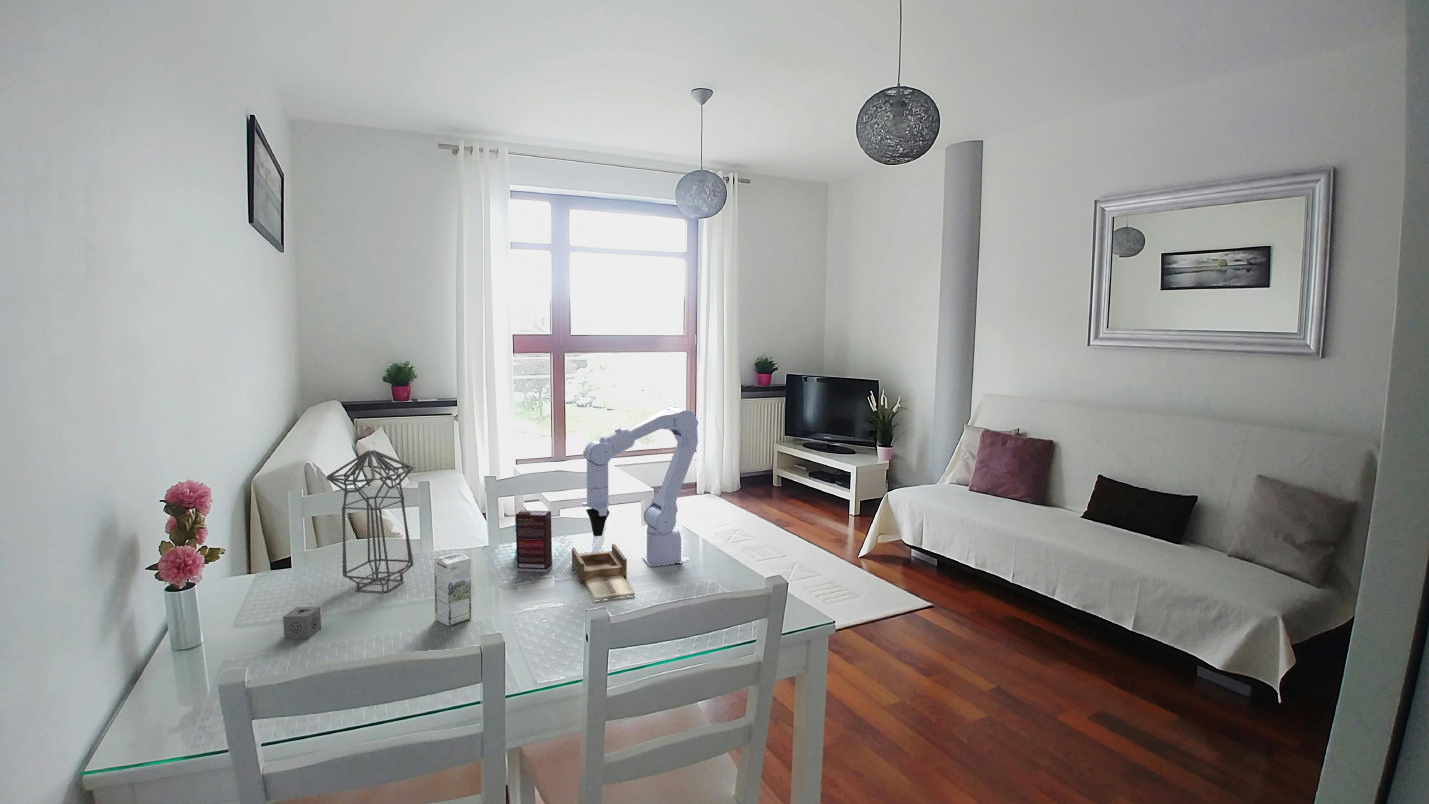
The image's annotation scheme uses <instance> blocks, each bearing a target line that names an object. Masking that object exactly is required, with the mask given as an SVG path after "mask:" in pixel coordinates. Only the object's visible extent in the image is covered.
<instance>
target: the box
mask: <svg viewBox="0 0 1429 804" xmlns="http://www.w3.org/2000/svg"><path fill="white" fill-rule="evenodd" d="M627 563H628V559H627V557H625V555H624V554H623V553H622V552H621V550H620V549H619V548H618V546H617V545H616V544H615V543H612V544H611V550H610V551H609V550H608V551H600V552H598V551H597V552H589V553H578V551H577V549H576V547H571V567H572V569H573V571H574V573H575V575H576V576H577V578H578V580H579V582H580V584H581V585H583V584H585V579H594V578H602V577H611V576H620V575H622V576H623V577H624V578H625V579H627V578H628V577H627V576H628V575H627V574H628V572H627V571H628V564H627Z"/></svg>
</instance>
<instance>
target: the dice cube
mask: <svg viewBox="0 0 1429 804" xmlns="http://www.w3.org/2000/svg"><path fill="white" fill-rule="evenodd" d="M321 616H322V615H321V606H296V607H295V608H293V609H292V610H290V611H288V613H286V614H285V615H283V616H282V622H283V636H284V637H283V638H284V640H309V639H311V638H312V637H313V636H315V635H316V634H317V633H318V632H319V631H321V630H322V618H321Z"/></svg>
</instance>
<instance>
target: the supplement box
mask: <svg viewBox="0 0 1429 804" xmlns="http://www.w3.org/2000/svg"><path fill="white" fill-rule="evenodd" d="M515 525H516V531H515V538H516V540H515V541H516V542H515V543H516V544H515V545H516V547H515V548H517V556H516V571H517V572H525V573H527V572H528V573H529V572H530V573H532V572H533V573H548V571H550V570H551V569H552V568H553V550H552V548H553V545H552V543H553V541H552V537H553V536H552V511H549V510H523V509H522V510H520V511H519V512H516V513H515Z"/></svg>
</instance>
